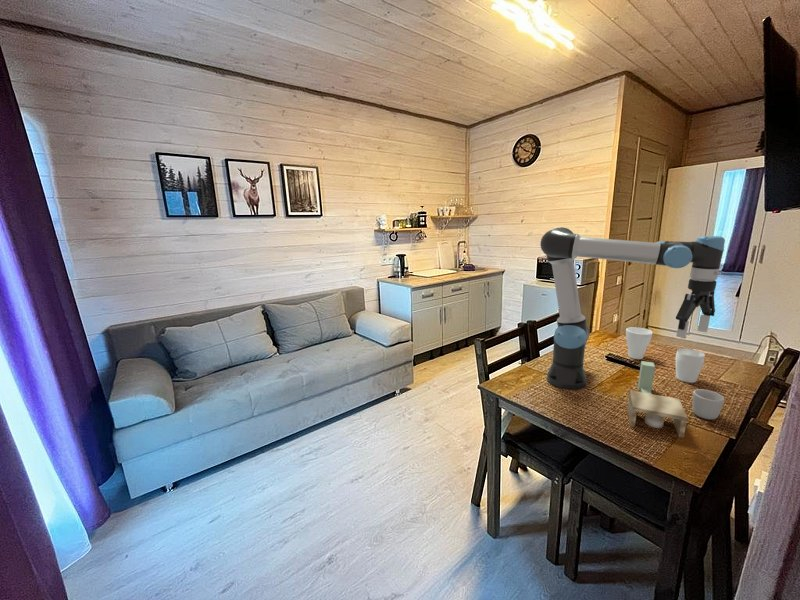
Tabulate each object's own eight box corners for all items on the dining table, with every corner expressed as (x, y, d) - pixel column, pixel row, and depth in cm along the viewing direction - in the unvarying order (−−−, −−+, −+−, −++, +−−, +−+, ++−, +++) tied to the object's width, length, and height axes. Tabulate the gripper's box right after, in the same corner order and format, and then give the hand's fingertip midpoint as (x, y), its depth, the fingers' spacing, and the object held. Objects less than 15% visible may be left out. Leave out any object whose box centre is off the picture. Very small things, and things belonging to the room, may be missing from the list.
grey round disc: (645, 426, 113) (646, 419, 112) (643, 418, 117) (644, 412, 116) (664, 430, 110) (665, 423, 110) (661, 421, 115) (662, 415, 114)
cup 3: (689, 403, 124) (692, 383, 122) (718, 410, 119) (722, 389, 117) (689, 417, 116) (693, 396, 114) (721, 425, 111) (725, 403, 109)
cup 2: (705, 384, 136) (710, 357, 133) (680, 383, 138) (684, 356, 135) (691, 374, 145) (696, 348, 142) (667, 373, 146) (671, 347, 143)
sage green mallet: (644, 412, 120) (648, 384, 117) (637, 385, 138) (641, 361, 135) (658, 414, 118) (662, 386, 115) (649, 387, 136) (653, 362, 133)
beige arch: (630, 426, 113) (632, 406, 111) (627, 408, 123) (629, 390, 121) (683, 437, 106) (687, 417, 104) (675, 417, 116) (679, 398, 114)
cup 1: (617, 354, 167) (620, 328, 164) (633, 351, 170) (636, 326, 167) (637, 362, 158) (641, 335, 154) (654, 359, 161) (658, 332, 157)
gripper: (694, 284, 114) (683, 343, 119) (734, 277, 123) (722, 332, 129) (670, 281, 121) (660, 336, 126) (710, 274, 130) (699, 326, 135)
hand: (691, 334), depth 127 cm, fingers open, 13 cm apart
